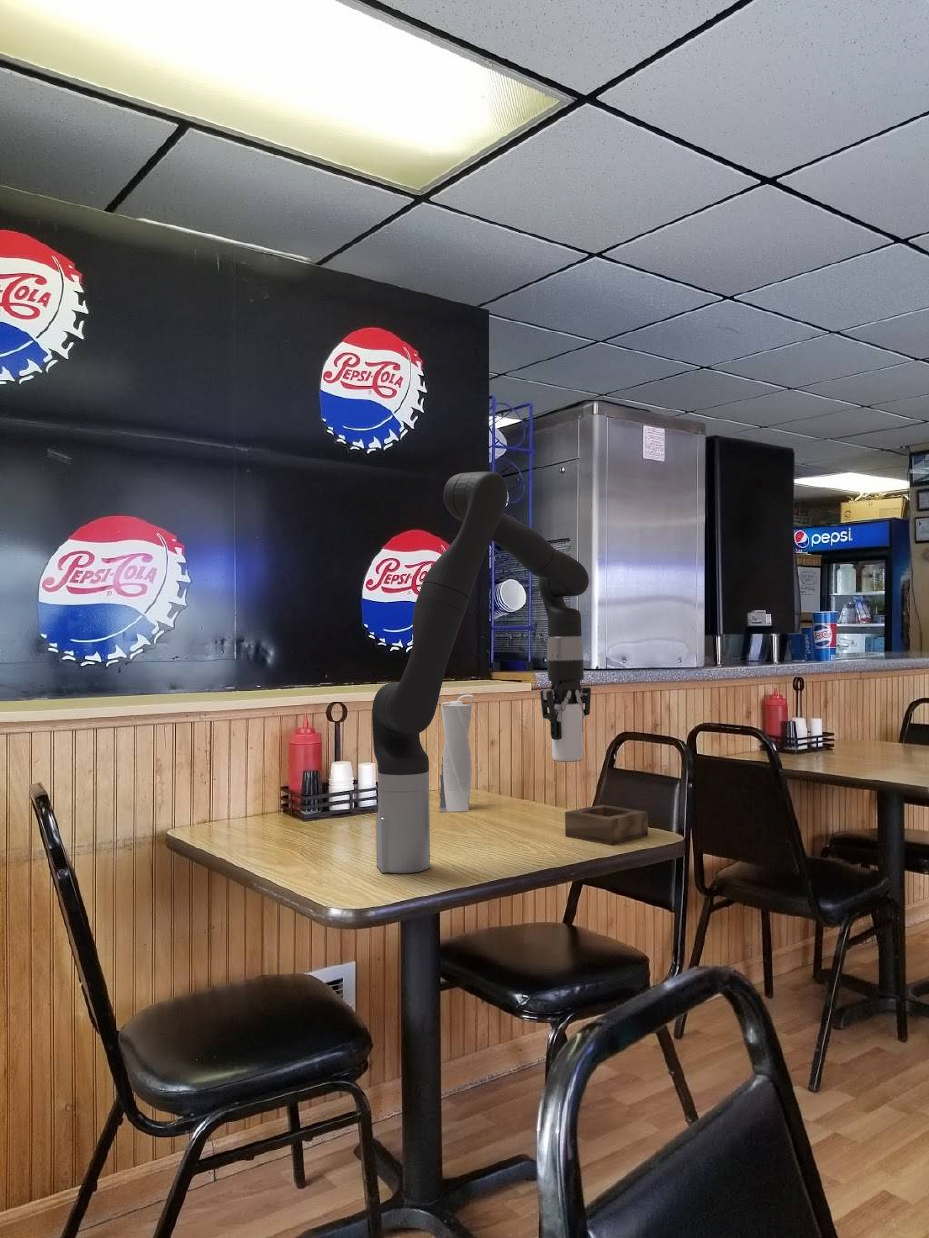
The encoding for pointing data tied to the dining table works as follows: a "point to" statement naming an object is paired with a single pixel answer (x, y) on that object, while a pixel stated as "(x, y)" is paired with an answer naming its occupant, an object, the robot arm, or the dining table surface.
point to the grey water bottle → (456, 757)
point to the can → (569, 735)
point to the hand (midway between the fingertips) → (567, 737)
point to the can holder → (606, 824)
